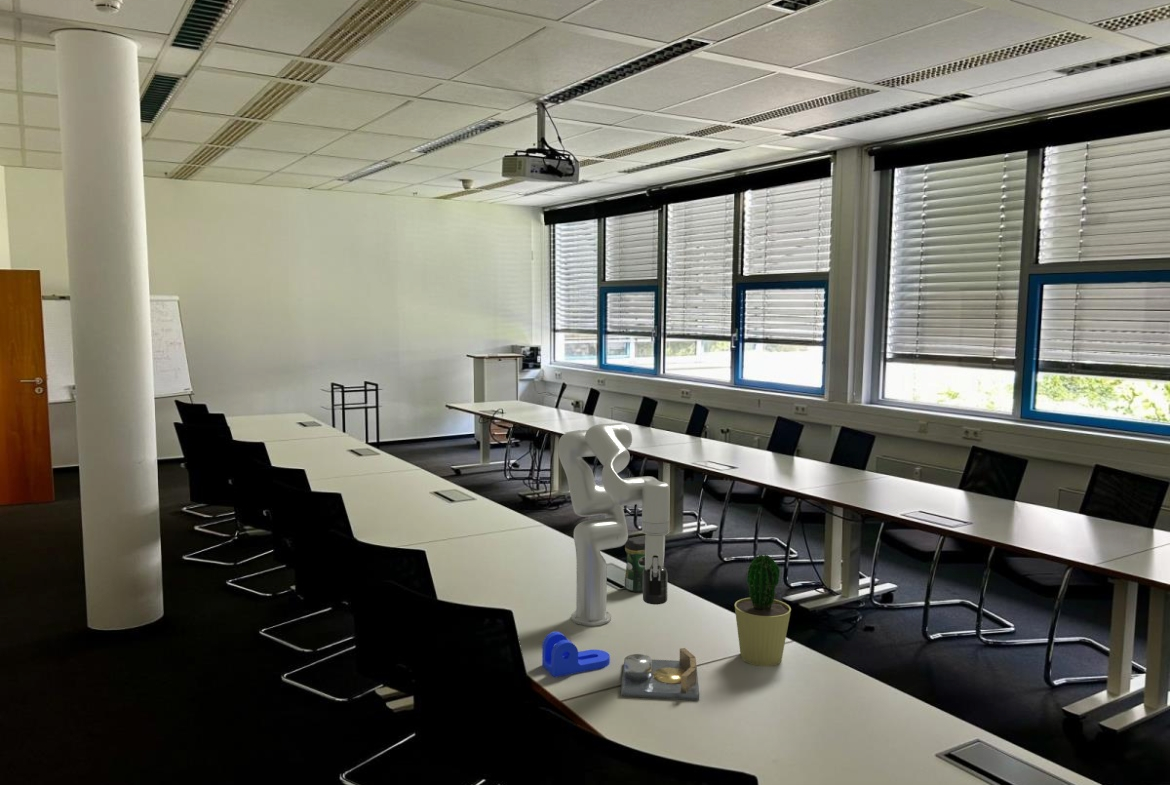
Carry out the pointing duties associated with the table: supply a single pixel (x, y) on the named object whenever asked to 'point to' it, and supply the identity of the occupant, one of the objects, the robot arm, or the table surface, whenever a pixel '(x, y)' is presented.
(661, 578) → the supplement bottle
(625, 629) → the table surface
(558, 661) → the bracket
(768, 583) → the potted cactus
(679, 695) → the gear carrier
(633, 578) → the coffee jar
